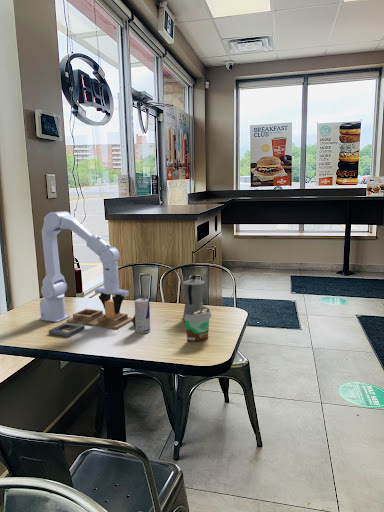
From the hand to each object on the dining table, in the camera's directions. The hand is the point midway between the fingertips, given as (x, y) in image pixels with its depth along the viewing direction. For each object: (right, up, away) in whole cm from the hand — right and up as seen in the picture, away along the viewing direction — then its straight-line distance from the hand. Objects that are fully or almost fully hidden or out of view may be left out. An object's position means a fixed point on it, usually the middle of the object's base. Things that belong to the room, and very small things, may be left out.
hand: (112, 312), depth 152 cm
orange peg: (0, -2, 0) cm, 2 cm away
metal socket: (-15, -6, -9) cm, 19 cm away
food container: (+35, -7, -17) cm, 39 cm away
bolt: (+11, -4, +3) cm, 12 cm away
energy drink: (+13, -6, -9) cm, 17 cm away
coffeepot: (+32, -3, +4) cm, 33 cm away
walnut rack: (-6, -4, +3) cm, 7 cm away
